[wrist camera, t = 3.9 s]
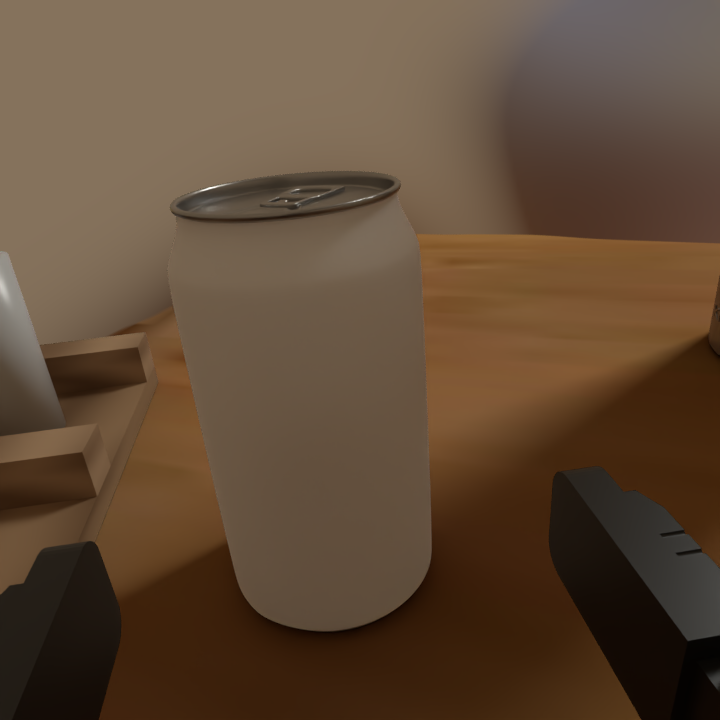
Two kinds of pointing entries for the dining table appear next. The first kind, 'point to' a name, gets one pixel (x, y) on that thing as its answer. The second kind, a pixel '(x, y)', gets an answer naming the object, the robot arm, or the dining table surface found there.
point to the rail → (88, 512)
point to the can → (310, 388)
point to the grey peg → (22, 366)
